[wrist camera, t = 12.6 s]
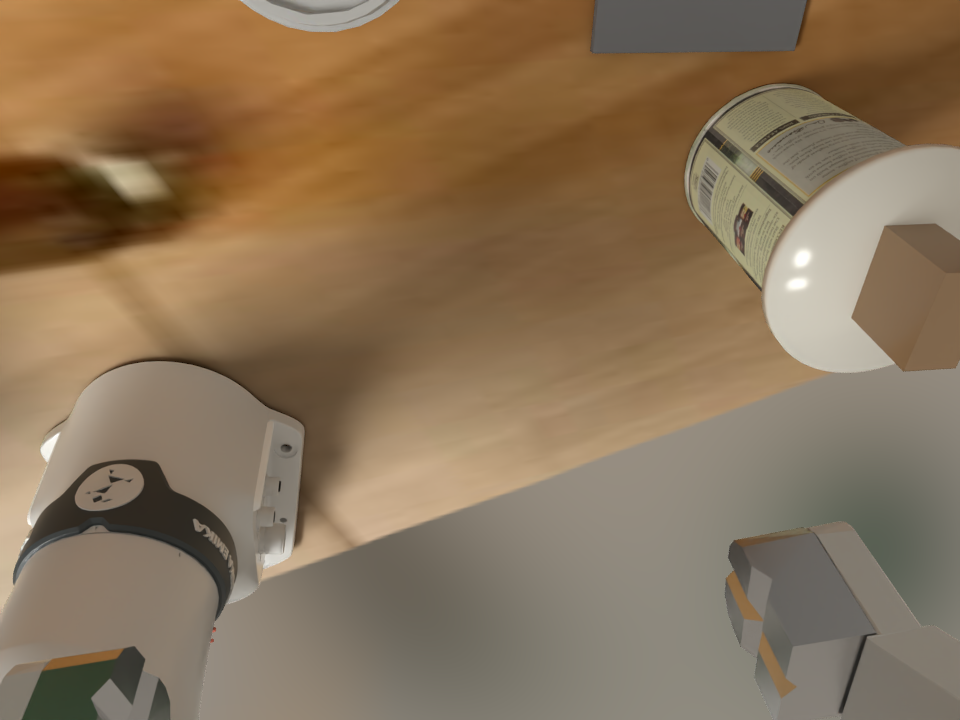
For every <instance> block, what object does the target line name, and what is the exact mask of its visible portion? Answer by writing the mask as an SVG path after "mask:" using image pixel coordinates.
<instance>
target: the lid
mask: <svg viewBox="0 0 960 720" xmlns="http://www.w3.org/2000/svg"><path fill="white" fill-rule="evenodd" d="M761 299H762V308H763V313H764V316H765V320H766V323H767V325H768V327H769V329H770V331H771V333H772V334H773V335H774V336H775V338H776V339H777V340H778V342H779V343H780V344H781V346H782V347H783V348H784V349H785V350H786V351H787V352H788V353H789V354H790V355H791V356H792V357H793V358H795V359H797V360H798V361H800V362H801V363H803V364H805V365H808V366H810V367H813V368H815V369H819V370H823V371H829V372H837V373H854V372H862V371H870V370H874V369H879V368H883V367H886V366H889V365H893V364H897V365H898V366H899V367H900V369H902V371H919V370H935V369H951V368H956V366H957V364H958V362H959V360H960V147H956V146H951V145H946V144H918V145H909V146H905V147H900V148H896V149H892V150H889V151H886V152H883V153H880V154H877V155H875V156H873V157H870V158H868V159H866V160H864V161H862V162H860V163H857V164H856V165H854V166H852V167H851V168H849V169H847V170H846V171H844V172H842V173H841V174H839V175H838V176H836V177H835V178H834V179H832V180H831V181H830V182H828V183H827V184H825V185H824V186H823V187H822V188H821V189H820V190H818V191H817V192H816V193H815V194H814V195H813V196H812V197H810V198H809V200H808V201H807V202H806V203H805V204H804V205H803V206H802V207H801V208H800V209H799V210H798V211H797V212H796V214H795V215H794V216H793V218H792V219H791V220H790V222H789V223H788V224H787V225H786V227H785V229H784V230H783V232H782V233H781V235H780V237H779V238H778V240H777V242H776V244H775V246H774V248H773V250H772V252H771V254H770V257H769V260H768V263H767V265H766V268H765V272H764V277H763V282H762V296H761Z"/></svg>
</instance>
